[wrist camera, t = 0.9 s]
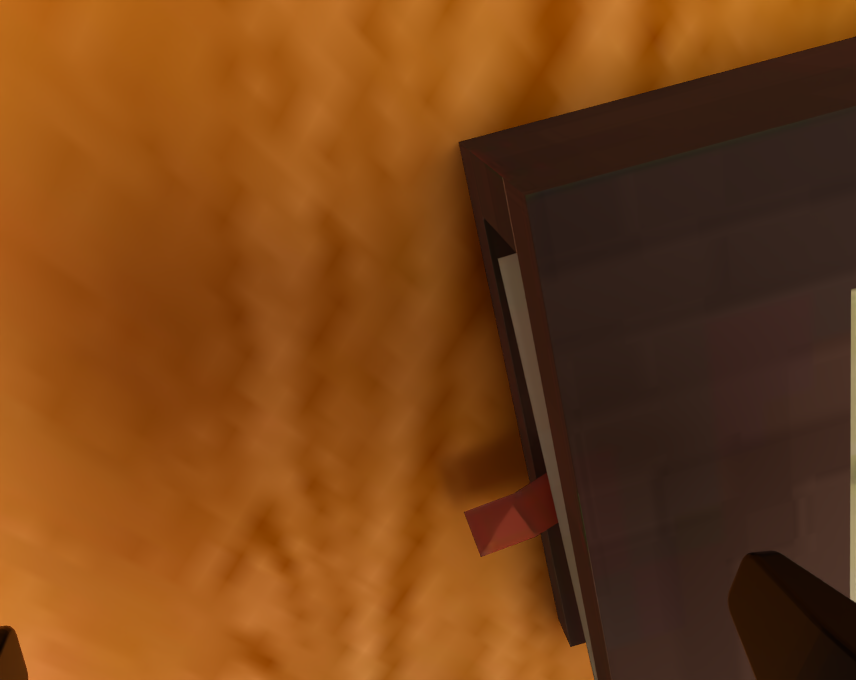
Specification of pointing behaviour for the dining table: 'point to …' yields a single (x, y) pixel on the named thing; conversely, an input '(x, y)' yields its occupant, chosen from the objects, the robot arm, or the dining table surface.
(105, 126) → the dining table surface
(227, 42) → the dining table surface
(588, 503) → the decorative book
